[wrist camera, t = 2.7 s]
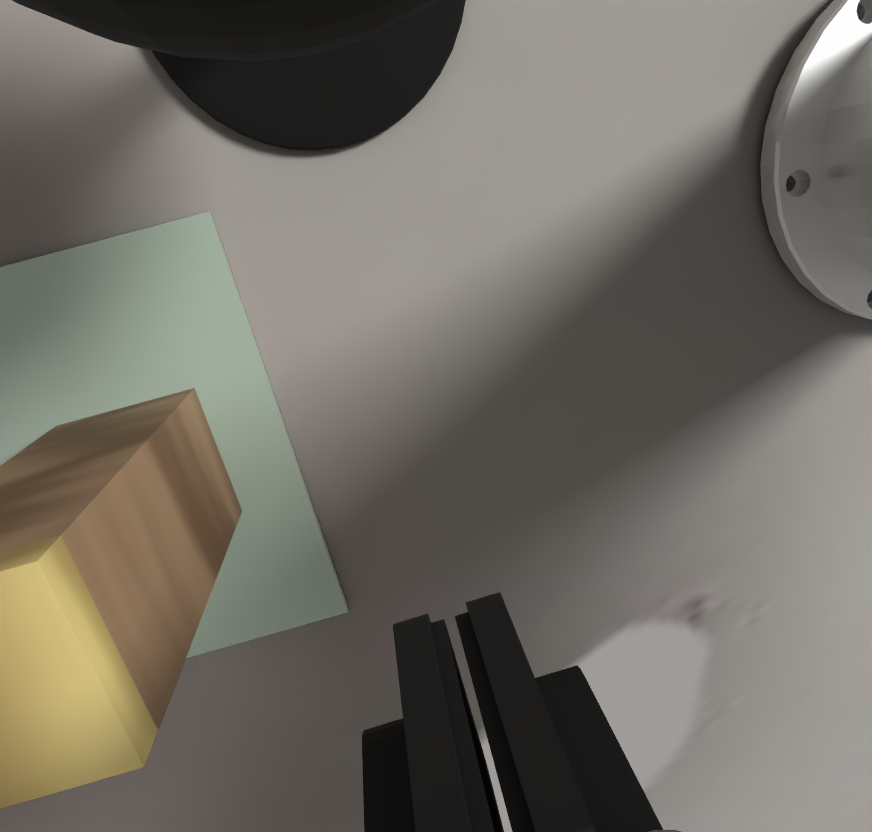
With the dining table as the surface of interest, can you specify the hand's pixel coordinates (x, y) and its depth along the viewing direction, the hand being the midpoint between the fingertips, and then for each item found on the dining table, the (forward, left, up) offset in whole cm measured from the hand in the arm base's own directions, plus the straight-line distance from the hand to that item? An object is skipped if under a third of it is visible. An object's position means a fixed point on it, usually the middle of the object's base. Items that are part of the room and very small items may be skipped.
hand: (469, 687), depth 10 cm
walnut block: (+9, 0, -15) cm, 18 cm away
